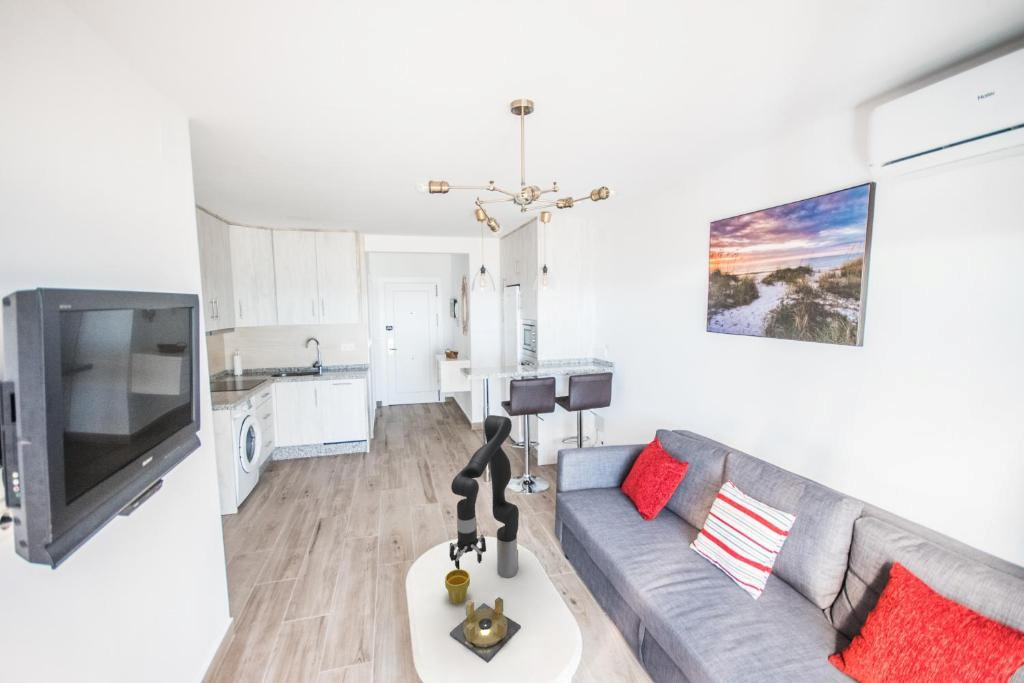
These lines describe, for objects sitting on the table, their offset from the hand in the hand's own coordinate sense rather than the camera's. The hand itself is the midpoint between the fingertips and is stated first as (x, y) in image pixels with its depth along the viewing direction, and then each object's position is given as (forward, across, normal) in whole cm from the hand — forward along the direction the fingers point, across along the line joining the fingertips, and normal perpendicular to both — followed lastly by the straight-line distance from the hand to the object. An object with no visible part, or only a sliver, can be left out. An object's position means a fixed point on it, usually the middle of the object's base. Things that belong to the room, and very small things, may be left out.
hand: (468, 565), depth 162 cm
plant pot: (+22, +2, -11) cm, 25 cm away
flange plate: (+22, -3, +10) cm, 24 cm away
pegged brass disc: (+21, -3, +10) cm, 23 cm away
